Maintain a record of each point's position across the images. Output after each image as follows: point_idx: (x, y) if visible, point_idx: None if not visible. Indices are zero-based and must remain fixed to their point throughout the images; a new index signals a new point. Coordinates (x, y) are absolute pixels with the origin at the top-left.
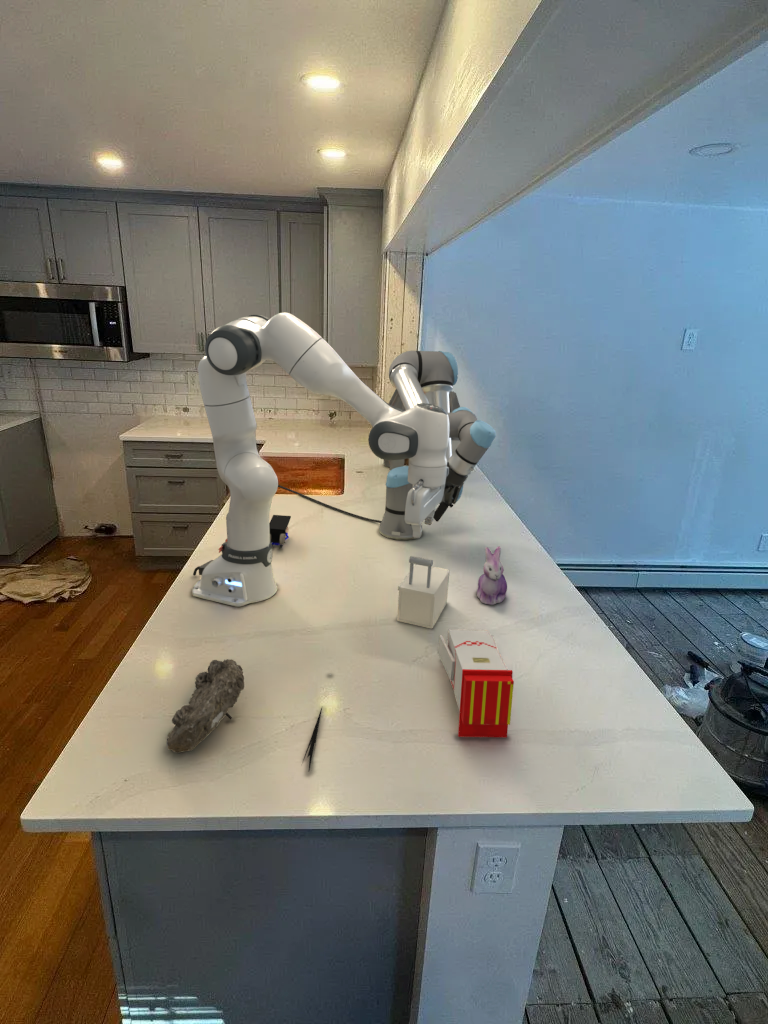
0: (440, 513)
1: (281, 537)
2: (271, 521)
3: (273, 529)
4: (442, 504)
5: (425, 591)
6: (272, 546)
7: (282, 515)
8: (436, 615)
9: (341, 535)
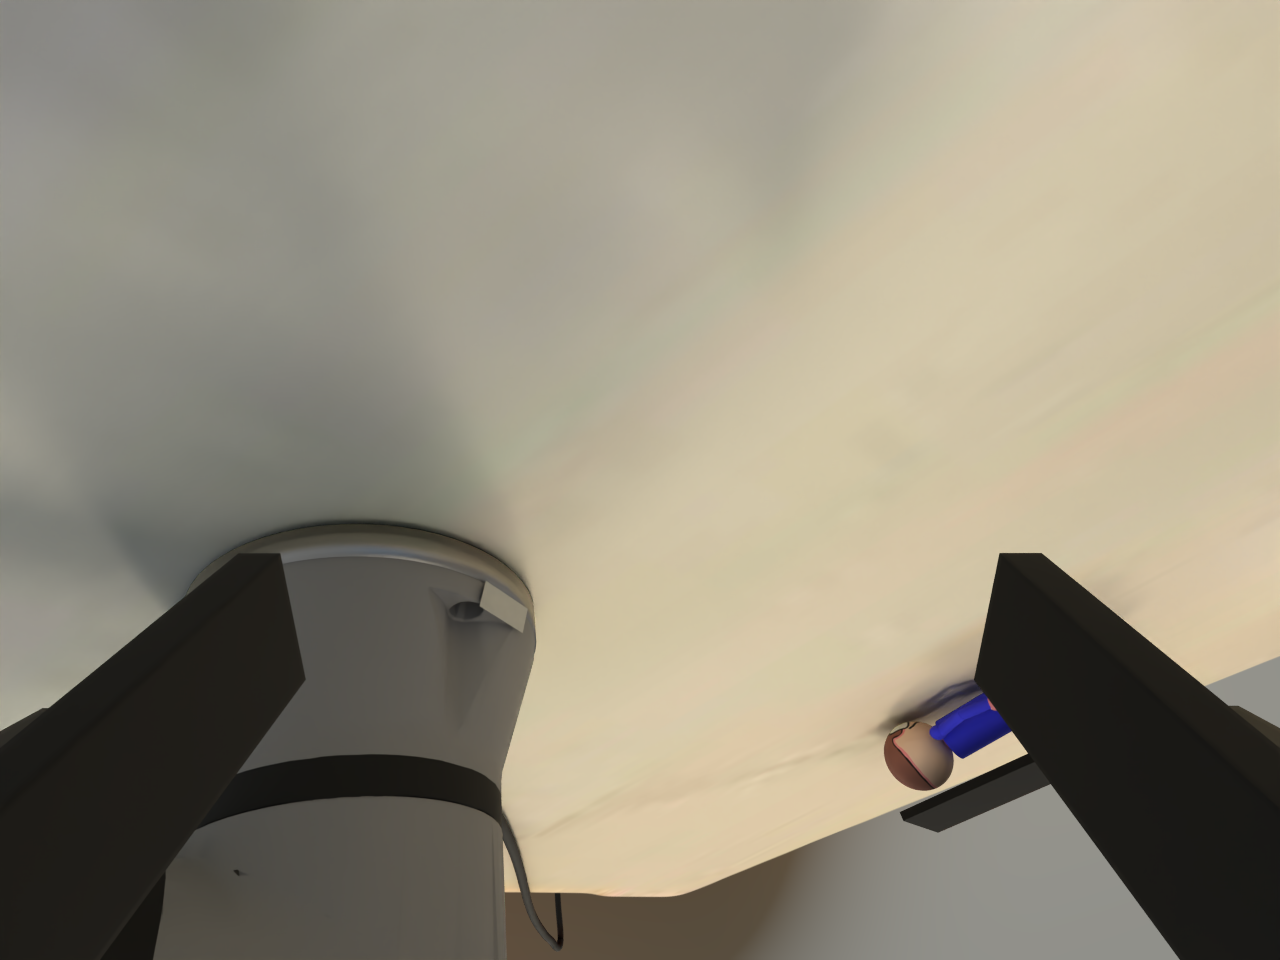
0: (181, 692)
1: None
2: (1004, 802)
3: None
4: (47, 950)
5: None
6: None
7: (921, 826)
8: None
9: (712, 680)
